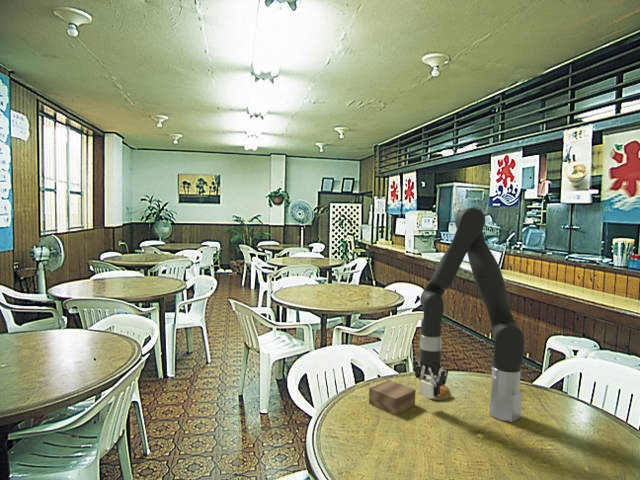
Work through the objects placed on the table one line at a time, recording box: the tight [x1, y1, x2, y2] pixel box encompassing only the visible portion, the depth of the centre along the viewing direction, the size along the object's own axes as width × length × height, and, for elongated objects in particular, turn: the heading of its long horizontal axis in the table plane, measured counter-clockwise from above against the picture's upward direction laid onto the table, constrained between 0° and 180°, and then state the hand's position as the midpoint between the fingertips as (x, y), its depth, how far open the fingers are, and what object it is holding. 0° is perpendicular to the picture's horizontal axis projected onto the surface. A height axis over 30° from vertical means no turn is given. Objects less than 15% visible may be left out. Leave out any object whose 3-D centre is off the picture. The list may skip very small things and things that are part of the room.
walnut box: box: [368, 379, 416, 416], centre depth 159 cm, size 12×12×6 cm
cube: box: [419, 376, 440, 400], centre depth 156 cm, size 5×5×5 cm
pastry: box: [431, 384, 452, 401], centre depth 167 cm, size 9×7×4 cm
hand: (429, 393), depth 156 cm, fingers closed on cube, 5 cm apart
